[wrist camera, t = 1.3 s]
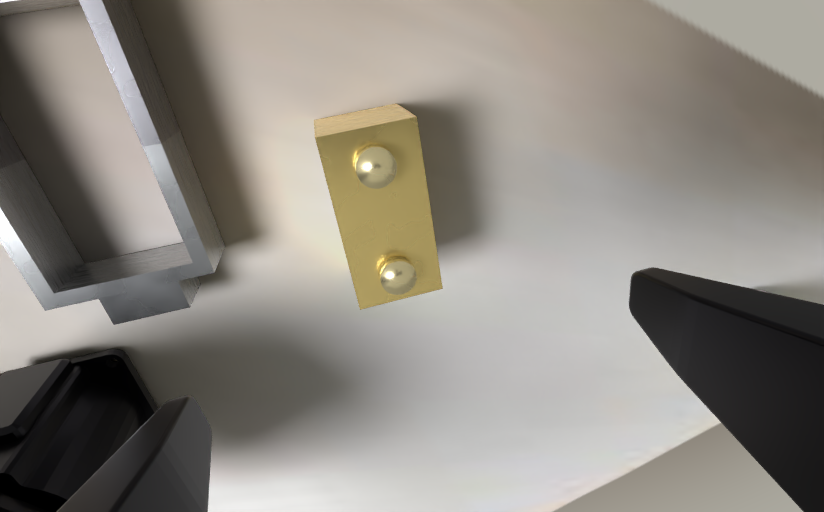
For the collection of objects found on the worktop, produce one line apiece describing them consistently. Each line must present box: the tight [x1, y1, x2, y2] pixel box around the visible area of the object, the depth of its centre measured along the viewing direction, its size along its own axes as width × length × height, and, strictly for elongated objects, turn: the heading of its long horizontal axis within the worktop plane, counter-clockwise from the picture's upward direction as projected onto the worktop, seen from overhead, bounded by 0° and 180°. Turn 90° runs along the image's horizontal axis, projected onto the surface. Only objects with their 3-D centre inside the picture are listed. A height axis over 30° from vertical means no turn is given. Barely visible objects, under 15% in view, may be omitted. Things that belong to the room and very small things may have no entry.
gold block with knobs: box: [314, 104, 442, 310], centre depth 18 cm, size 7×4×5 cm, turn 9°
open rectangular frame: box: [0, 0, 225, 325], centre depth 15 cm, size 15×6×3 cm, turn 8°
